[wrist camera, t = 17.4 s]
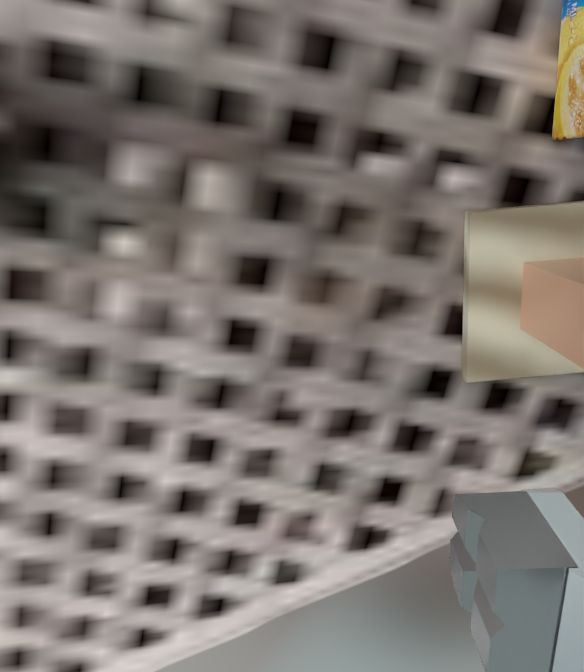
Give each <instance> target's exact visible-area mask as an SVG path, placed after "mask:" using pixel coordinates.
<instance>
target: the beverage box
mask: <svg viewBox="0 0 584 672" xmlns="http://www.w3.org/2000/svg"><path fill="white" fill-rule="evenodd" d="M576 138H584V0H563V7H562V20H561V32H560V45H559V57H558V70H557V83H556V95H555V108H554V120H553V133H552V140H563V139H576Z"/></svg>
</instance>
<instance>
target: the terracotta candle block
mask: <svg viewBox="0 0 584 672" xmlns="http://www.w3.org/2000/svg"><path fill="white" fill-rule="evenodd" d="M520 329H522V330H523V331H525V332H526V333H528V334H530V335H531V336H533V337H534V338H536V339H537V340H539V341H540V342H542V343H544V344H545V345H547V346H548V347H550V348H551V349H553V350H554V351H556V352H558V353H559V354H561V355H562V356H564V357H565V358H567V359H568V360H570V361H572V362H573V363H575V364H576V365H578V366H579V367H581V368H582V369H584V257H580V258H569V259H558V260H547V261H536V262H525V263H523V282H522V301H521V320H520Z"/></svg>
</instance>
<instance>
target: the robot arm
mask: <svg viewBox="0 0 584 672" xmlns="http://www.w3.org/2000/svg"><path fill="white" fill-rule="evenodd" d="M452 518H453V520H454V523H455V525H456V527H457V530H458V532H457V533H456V534H455V535H454V536H453V538H452V539H451V540H450V563H451V572H452V578H453V582H454V587H455V591H456V594H457V596H458V599H459V602H460V605H461V606H462V607H463V608H464V609H466V610H467V611H468V612H469V613H470V614H472V618H471V635H472V638H473V640H474V643H475V646H476V648H477V651H478V654H479V656H480V659H481V662H482V664H483V667H484V670H485V672H584V519H583V517H582V516H581V515H580V514H579V512H578V511H577V510H576V509H575V508H574V506H573V505H572V504H571V503H570V501H569V500H568V499H567V498H566V496H565V495H564V494H563V492H562V491H560V490H558V489H556V488H544V489H529V490H521V491H516V492H494V493H473V494H455V498H454V501H453V508H452Z"/></svg>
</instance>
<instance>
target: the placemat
mask: <svg viewBox="0 0 584 672" xmlns="http://www.w3.org/2000/svg"><path fill="white" fill-rule="evenodd" d="M580 257H584V201H574V202H563V203H552V204H541V205H530V206H519V207H507V208H496V209H485V210H474V211H465V225H464V282H463V340H462V378H463V379H464V380H465V381H466V382H467V383H469V382H480V381H491V380H502V379H513V378H524V377H535V376H546V375H557V374H568V373H579V372H584V369H582V368H581V367H579V366H578V365H576V364H575V363H573V362H572V361H570V360H568V359H567V358H565V357H564V356H562V355H561V354H559V353H558V352H556V351H554V350H553V349H551V348H550V347H548V346H547V345H545V344H544V343H542V342H540V341H539V340H537V339H536V338H534V337H533V336H531V335H530V334H528V333H526V332H525V331H523V330H522V329H520V320H521V301H522V282H523V263H525V262H536V261H547V260H558V259H569V258H580Z"/></svg>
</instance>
